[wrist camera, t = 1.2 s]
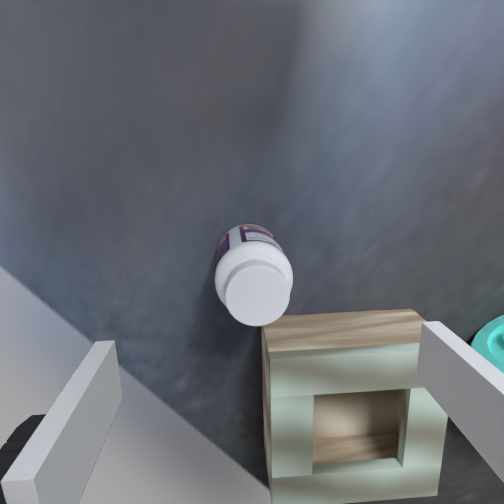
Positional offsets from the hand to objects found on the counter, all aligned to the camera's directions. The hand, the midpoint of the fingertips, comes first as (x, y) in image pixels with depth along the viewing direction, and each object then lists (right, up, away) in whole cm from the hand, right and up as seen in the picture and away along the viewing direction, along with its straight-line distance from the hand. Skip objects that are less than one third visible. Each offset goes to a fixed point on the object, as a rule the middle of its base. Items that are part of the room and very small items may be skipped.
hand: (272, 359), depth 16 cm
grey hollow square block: (+7, -8, +20) cm, 22 cm away
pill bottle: (-1, +5, +16) cm, 17 cm away
